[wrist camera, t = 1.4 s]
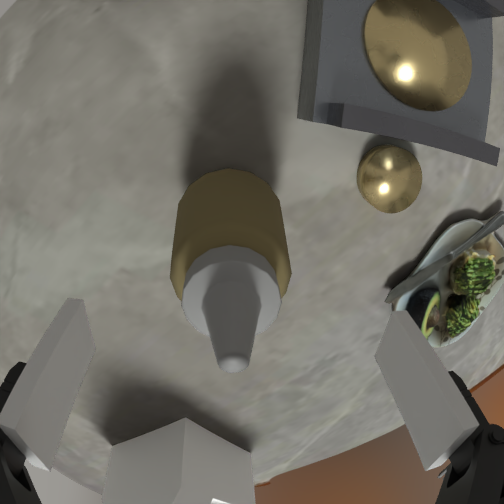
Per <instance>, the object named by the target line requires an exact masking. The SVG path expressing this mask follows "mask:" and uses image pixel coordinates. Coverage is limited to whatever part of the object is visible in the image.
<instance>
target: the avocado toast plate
mask: <svg viewBox="0 0 504 504" xmlns="http://www.w3.org/2000/svg"><path fill="white" fill-rule="evenodd" d="M503 224H504V211H500V212H498V213H497V214H495V215H494V216H493V217H491V218H489V219H488V220H484V221H481V220H477V219H473V218H470V219H467V220H463V221H460V222H457V223H453V224H452V225H450V226H449V227H448V228H447V229H446V230H445V231H444V232H443V233H442V234H441V235H440V236H439V237H438V238H437V240H436V241H435V242H434V244H433V245H432V246H431V248H430V249H429V250H428V252H427V253H426V255H425V256H424V257H423V259H422V260H421V261H420V262H419V264H418V265H417V266H416V267H415V269H414V270H413V271H412V272H411V274H410V275H409V276H408V277H407V278H406V279H404V280H403V281H402V282H401V283H399V284H398V285H397V286H396V287H395V288H393V289H392V290H391V291H390V292H389V294H388V296H387V298H386V300H385V302H386V303H391V302H392V304H393V310H392V311H405V310H407V312H408V313H409V315H410V316H411V317H412V319H413V320H414V322H415V323H416V325H417V326H418V327H419V329H420V330H421V332H422V333H423V335H424V336H425V338H426V339H427V341H428V342H429V344H430V345H431V347H435V348H441V347H445V346H448V345H450V344H452V343H453V342H455V341H457V340H459V339H460V338H461V337H462V336H463V335H464V334H465V333H466V332H467V331H468V330H469V329H470V328H471V326H472V325H473V324H474V322H475V321H476V320H477V319H478V317H479V316H480V315H481V313H482V312H483V311H484V309H485V308H486V306H487V305H488V304H489V303H490V302H491V301H492V299H493V298H494V296H495V295H496V293H497V292H498V291H499V289H500V288H501V286H502V284H503V282H504V248H503V246H502V244H501V243H500V241H498V239H497V238H496V237H495V234H494V231H495V230H497V229H498V228H499V227H501V226H502V225H503ZM450 295H452V296H451V297H449V296H450ZM475 296H477V297H476V298H475Z"/></svg>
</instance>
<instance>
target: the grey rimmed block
mask: <svg viewBox="0 0 504 504" xmlns="http://www.w3.org/2000/svg"><path fill="white" fill-rule="evenodd" d="M500 16H504V0H308V6H307V19H306V31H305V43H304V54H303V65H302V76H301V86H300V96H299V106H298V116H297V118H299V119H303V120H307V121H311V122H317V123H324V124H329V125H333V126H337V127H341V128H347V129H353V130H358V131H364V132H369V133H374V134H379V135H384V136H389V137H393V138H398V139H402V140H407V141H411V142H415V143H419V144H423V145H427V146H431V147H435V148H439V149H442V150H446V151H449V152H453V153H456V154H460V155H463V156H466V157H470V158H473V159H476V160H479V161H482V162H485V163H488V164H491V165H494V166H497V163H498V157H499V152H500V148H497V147H495V146H492V145H490V144H487V143H485V136H486V129H487V122H488V114H489V105H490V94H491V80H492V55H493V36H492V17H500Z"/></svg>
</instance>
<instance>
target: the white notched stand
mask: <svg viewBox="0 0 504 504" xmlns="http://www.w3.org/2000/svg"><path fill="white" fill-rule="evenodd" d="M102 502H103V504H255V494H254V482H253V471H252V459H251V453H250V452H248V451H246V450H244V449H242V448H240V447H238V446H236V445H234V444H232V443H230V442H228V441H226V440H224V439H223V438H221V437H219V436H217V435H215V434H214V433H212V432H210V431H208V430H206V429H205V428H203V427H201V426H200V425H198V424H196V423H194V422H193V421H191V420H189V419H188V418H186V417H185V418H183V419H181V420H178V421H176V422H173V423H171V424H169V425H166V426H164V427H161V428H159V429H156V430H154V431H151V432H149V433H146V434H144V435H141V436H138V437H136V438H133V439H130V440H128V441H125V442H122V443H119V444H116V445H113V446H112V449H111V454H110V458H109V463H108V468H107V473H106V478H105V484H104V489H103V495H102Z"/></svg>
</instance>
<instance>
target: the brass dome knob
mask: <svg viewBox="0 0 504 504" xmlns="http://www.w3.org/2000/svg"><path fill="white" fill-rule="evenodd" d="M421 184H422V172H421V167H420V165H419V162H418V161H417V159H416V158H415V157H414V155H413V154H411V153H410V152H409V151H407V150H405V149H402V148H399V147H396V146H393V145H379V146H376V147H374V148H373V149H371V150H370V151H369V152H367V153H366V155H365V156H364V157H363V159H362V160H361V162H360V164H359V167H358V171H357V185H358V189H359V191H360V193H361V195H362V196H363V198H364V199H365V200H366V201H367V202H369V203H370V204H371V205H372V206H374V207H375V208H376V209H378V210H379V211H381V212H384V213H397V212H400V211H403V210H404V209H406V208H407V207H409V206H410V205H411V204H412V203H413V202H414V201H415V199H416V198H417V196H418V194H419V191H420V189H421Z"/></svg>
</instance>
